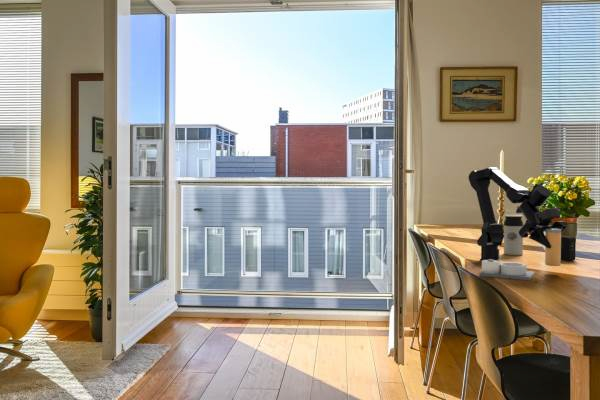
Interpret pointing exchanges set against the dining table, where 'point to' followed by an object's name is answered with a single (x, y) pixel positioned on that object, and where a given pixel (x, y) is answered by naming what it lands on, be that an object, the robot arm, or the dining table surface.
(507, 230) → the travel mug
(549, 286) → the dining table surface
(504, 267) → the housing
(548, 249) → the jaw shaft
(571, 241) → the electronic device
